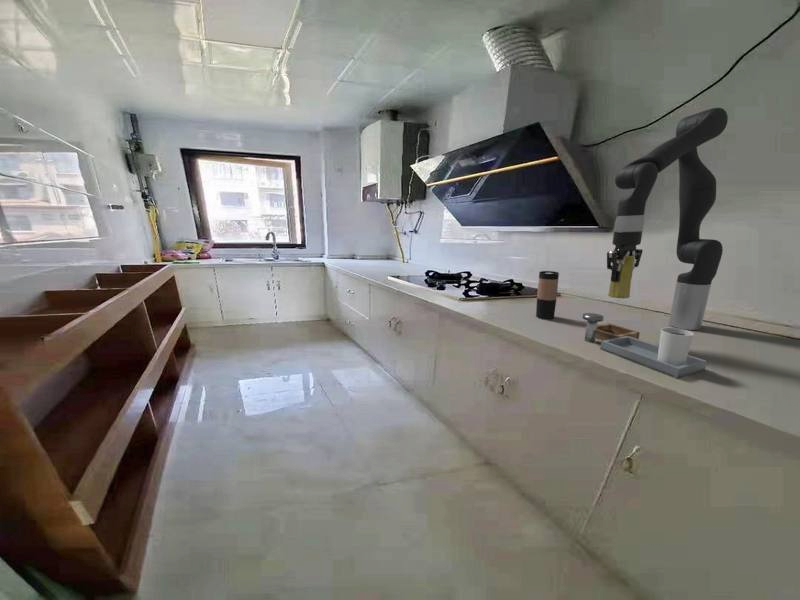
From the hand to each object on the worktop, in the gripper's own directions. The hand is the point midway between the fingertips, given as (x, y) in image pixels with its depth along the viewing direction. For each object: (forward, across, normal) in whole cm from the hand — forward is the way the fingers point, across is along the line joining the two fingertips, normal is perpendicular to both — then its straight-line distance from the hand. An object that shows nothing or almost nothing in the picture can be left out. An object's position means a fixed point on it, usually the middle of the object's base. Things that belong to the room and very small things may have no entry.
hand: (620, 280), depth 101 cm
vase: (+6, 0, 0) cm, 6 cm away
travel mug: (+21, +3, -28) cm, 35 cm away
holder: (+21, 0, 0) cm, 21 cm away
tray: (+21, +7, +16) cm, 27 cm away
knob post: (+21, +10, -1) cm, 23 cm away
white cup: (+20, +7, +21) cm, 30 cm away
